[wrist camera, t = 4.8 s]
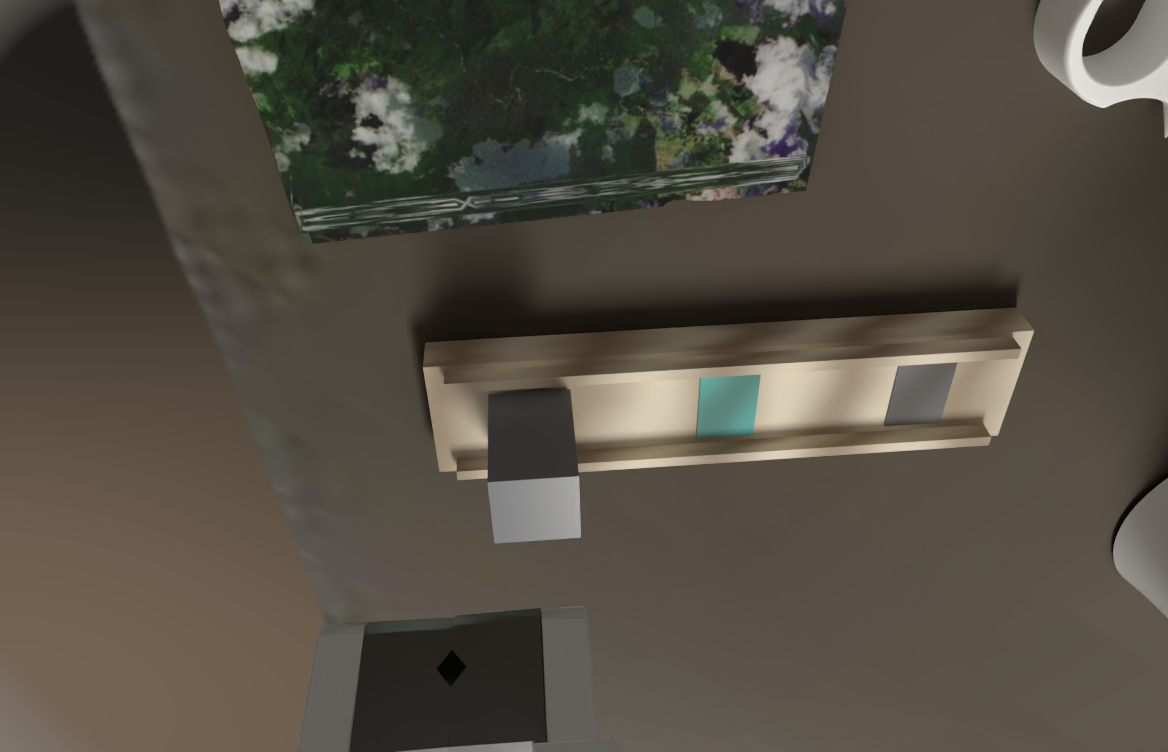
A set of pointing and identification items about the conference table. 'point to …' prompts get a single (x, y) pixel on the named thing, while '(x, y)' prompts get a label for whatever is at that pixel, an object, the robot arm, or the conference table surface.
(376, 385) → the conference table surface
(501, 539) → the grey rectangular block
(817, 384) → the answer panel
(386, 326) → the conference table surface
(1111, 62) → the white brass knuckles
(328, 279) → the conference table surface
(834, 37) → the floral canvas painting
